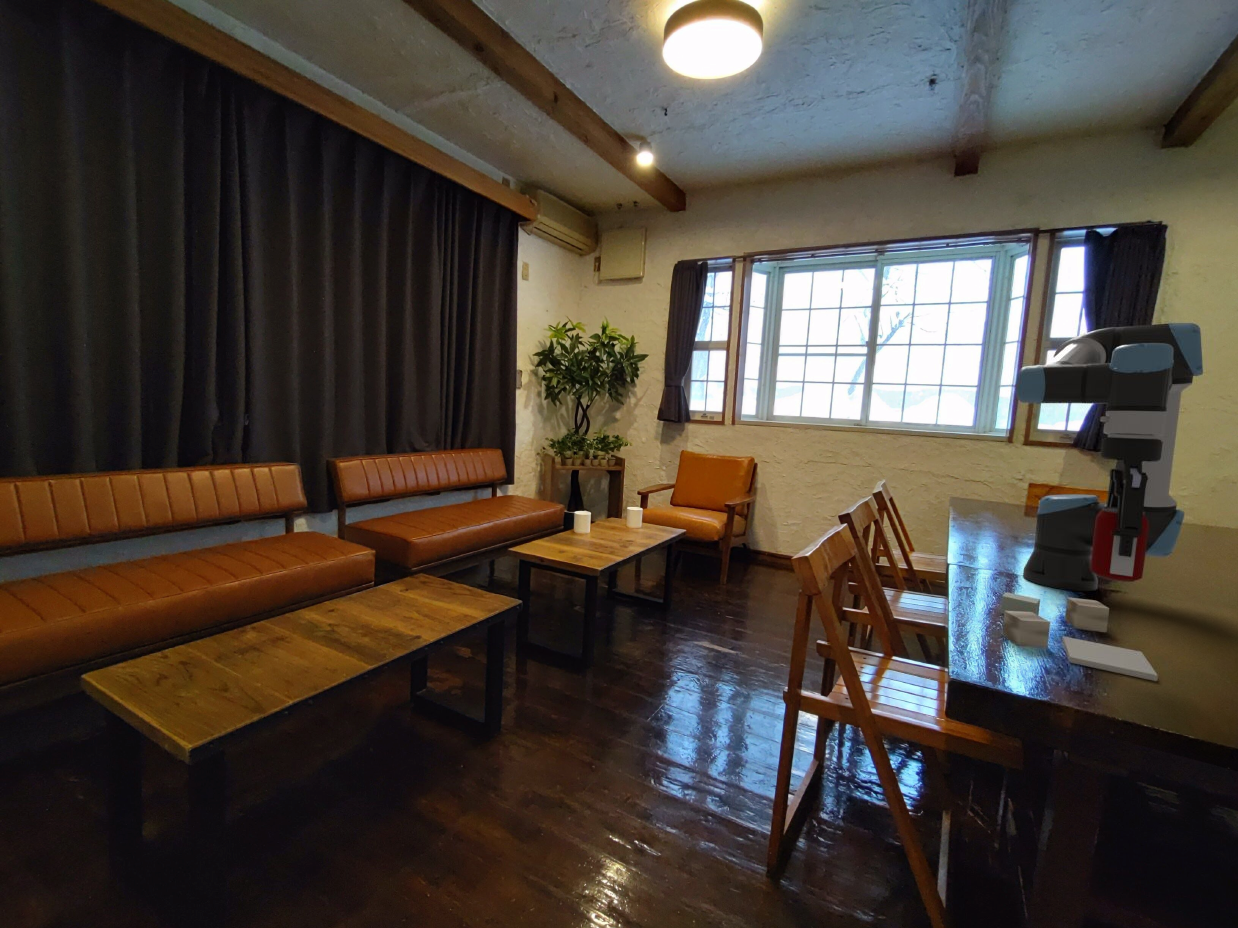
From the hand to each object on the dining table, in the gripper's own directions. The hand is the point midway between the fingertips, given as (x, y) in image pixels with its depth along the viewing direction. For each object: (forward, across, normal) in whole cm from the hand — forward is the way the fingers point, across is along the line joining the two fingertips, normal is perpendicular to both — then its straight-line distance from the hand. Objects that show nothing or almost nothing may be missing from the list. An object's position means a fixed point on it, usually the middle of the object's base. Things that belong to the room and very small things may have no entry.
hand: (1116, 569), depth 94 cm
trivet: (+16, 0, 0) cm, 16 cm away
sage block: (+17, -18, -12) cm, 27 cm away
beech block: (+16, -19, 0) cm, 25 cm away
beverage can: (+2, 0, 0) cm, 2 cm away
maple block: (+17, -1, -12) cm, 20 cm away
